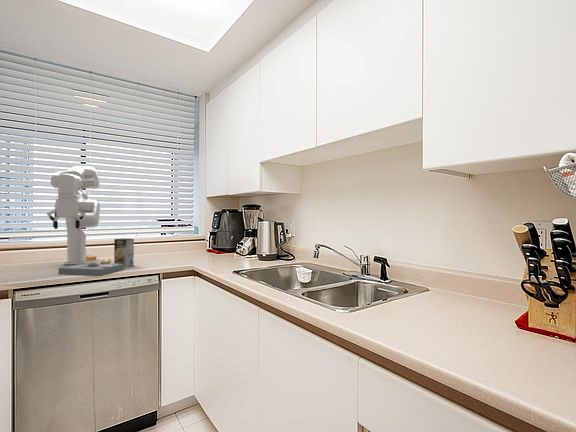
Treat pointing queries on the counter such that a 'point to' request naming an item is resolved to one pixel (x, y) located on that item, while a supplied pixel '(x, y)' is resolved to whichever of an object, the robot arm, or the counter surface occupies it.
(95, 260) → the plate
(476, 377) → the counter surface
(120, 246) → the coffee box
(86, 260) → the orange slider
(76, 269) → the switch panel
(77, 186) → the robot arm
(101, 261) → the brass button
